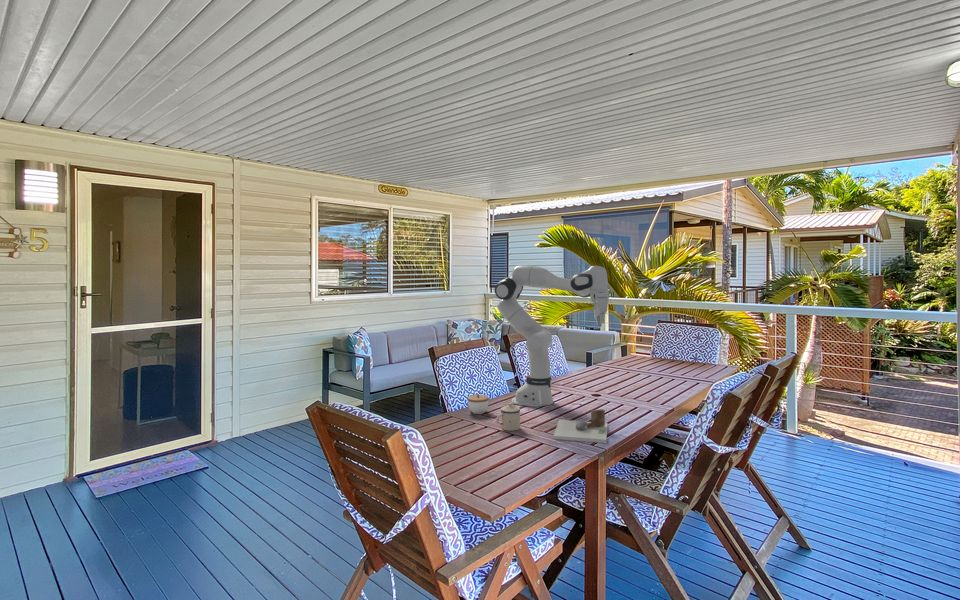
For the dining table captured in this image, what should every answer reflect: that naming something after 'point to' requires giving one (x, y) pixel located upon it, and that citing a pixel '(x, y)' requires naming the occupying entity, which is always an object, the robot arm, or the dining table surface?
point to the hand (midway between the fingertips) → (601, 325)
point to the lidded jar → (478, 403)
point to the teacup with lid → (509, 417)
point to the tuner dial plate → (580, 432)
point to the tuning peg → (592, 420)
